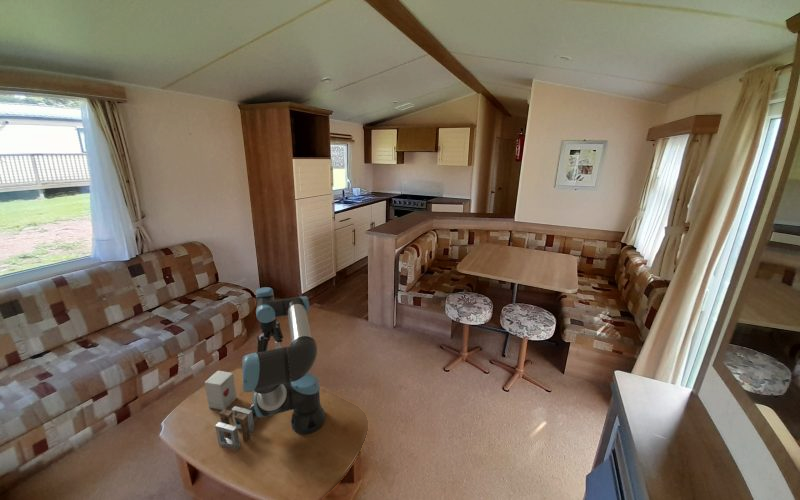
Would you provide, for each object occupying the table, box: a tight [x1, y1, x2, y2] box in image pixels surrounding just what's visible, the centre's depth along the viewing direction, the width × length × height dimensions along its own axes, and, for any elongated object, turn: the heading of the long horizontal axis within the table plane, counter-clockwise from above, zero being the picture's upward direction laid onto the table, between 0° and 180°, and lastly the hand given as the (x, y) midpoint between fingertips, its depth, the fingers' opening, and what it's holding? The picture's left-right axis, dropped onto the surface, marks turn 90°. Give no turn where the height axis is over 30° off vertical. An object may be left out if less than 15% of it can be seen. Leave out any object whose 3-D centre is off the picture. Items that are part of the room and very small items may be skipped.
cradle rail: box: [253, 413, 260, 424], centre depth 152 cm, size 4×15×3 cm, turn 165°
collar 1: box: [214, 421, 241, 451], centre depth 133 cm, size 9×2×10 cm, turn 75°
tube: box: [247, 401, 255, 415], centre depth 149 cm, size 16×4×4 cm, turn 165°
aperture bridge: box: [219, 408, 251, 443], centre depth 137 cm, size 12×2×12 cm, turn 75°
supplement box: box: [204, 370, 237, 411], centre depth 155 cm, size 9×9×15 cm
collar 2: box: [230, 405, 256, 434], centre depth 141 cm, size 9×2×10 cm, turn 75°
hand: (272, 359), depth 158 cm, fingers open, 9 cm apart
